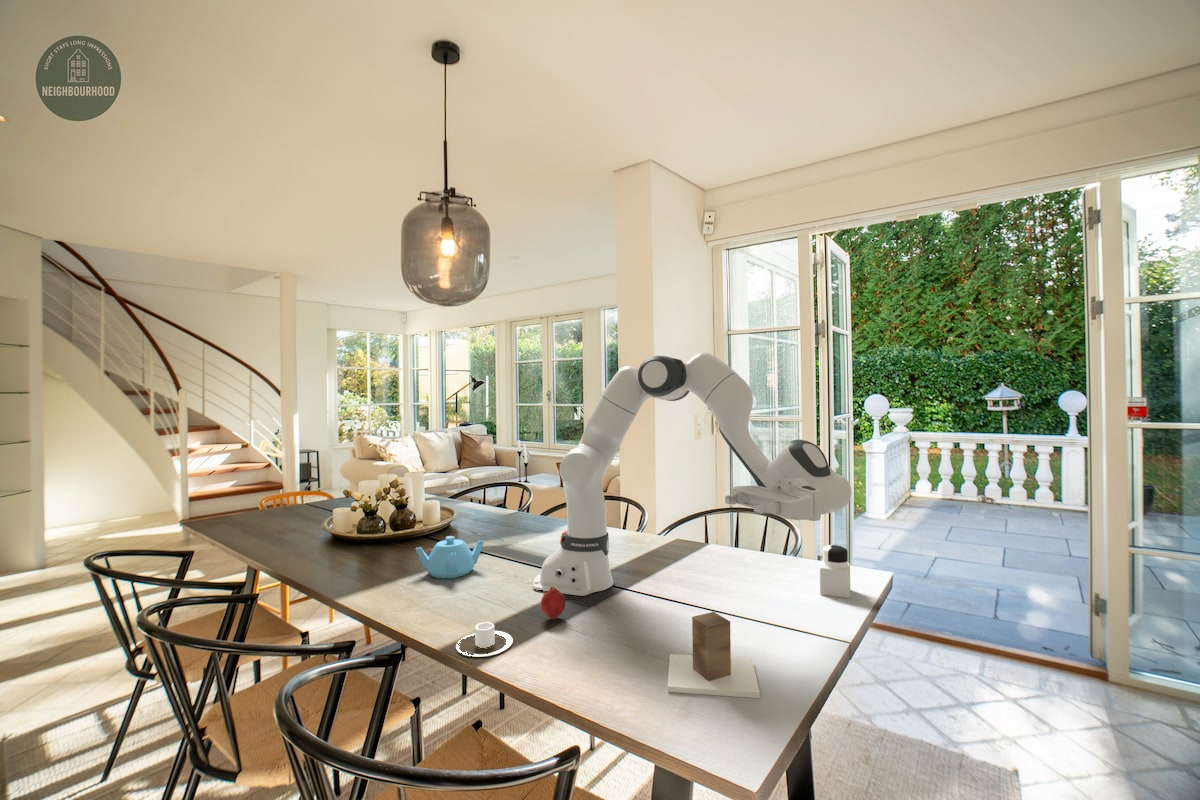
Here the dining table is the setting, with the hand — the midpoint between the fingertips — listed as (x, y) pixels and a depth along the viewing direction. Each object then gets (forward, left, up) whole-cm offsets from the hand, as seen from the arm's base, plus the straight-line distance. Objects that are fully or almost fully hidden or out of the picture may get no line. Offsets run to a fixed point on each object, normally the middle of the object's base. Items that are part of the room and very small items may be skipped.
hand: (741, 504), depth 116 cm
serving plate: (-7, -15, -30) cm, 34 cm away
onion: (-43, +7, -30) cm, 53 cm away
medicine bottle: (+27, +32, -30) cm, 51 cm away
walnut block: (-7, -15, -29) cm, 33 cm away
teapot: (-82, +36, -30) cm, 94 cm away
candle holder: (-55, -8, -30) cm, 63 cm away
